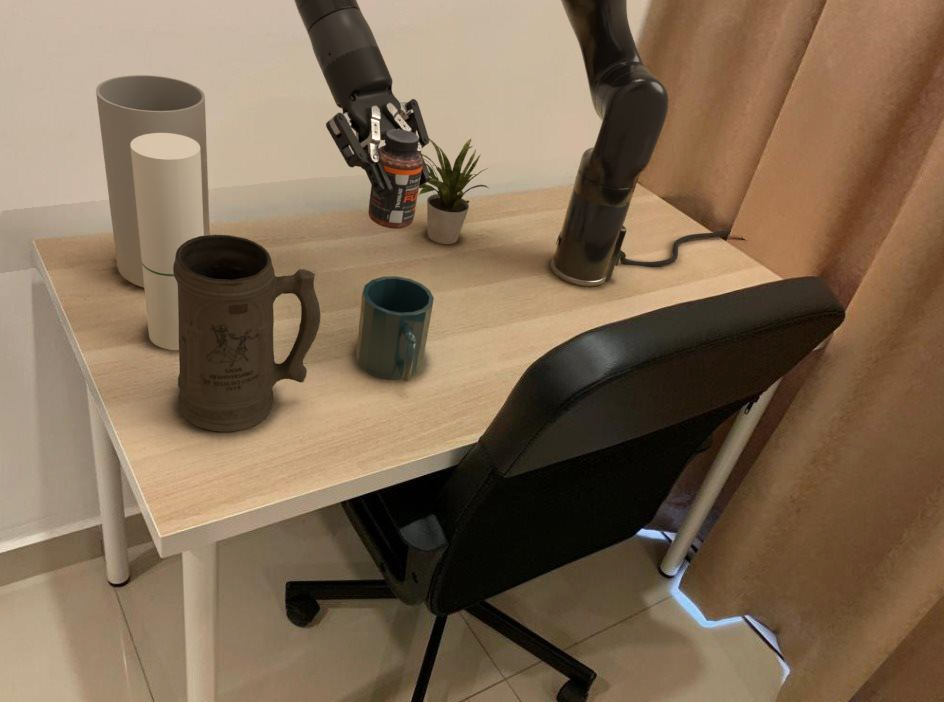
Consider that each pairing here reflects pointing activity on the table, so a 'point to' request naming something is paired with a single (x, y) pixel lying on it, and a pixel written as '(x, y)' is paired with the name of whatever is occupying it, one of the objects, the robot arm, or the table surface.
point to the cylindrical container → (165, 221)
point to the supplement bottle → (398, 180)
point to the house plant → (448, 196)
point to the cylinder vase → (135, 114)
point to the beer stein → (235, 330)
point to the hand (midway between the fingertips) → (405, 188)
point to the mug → (393, 327)
